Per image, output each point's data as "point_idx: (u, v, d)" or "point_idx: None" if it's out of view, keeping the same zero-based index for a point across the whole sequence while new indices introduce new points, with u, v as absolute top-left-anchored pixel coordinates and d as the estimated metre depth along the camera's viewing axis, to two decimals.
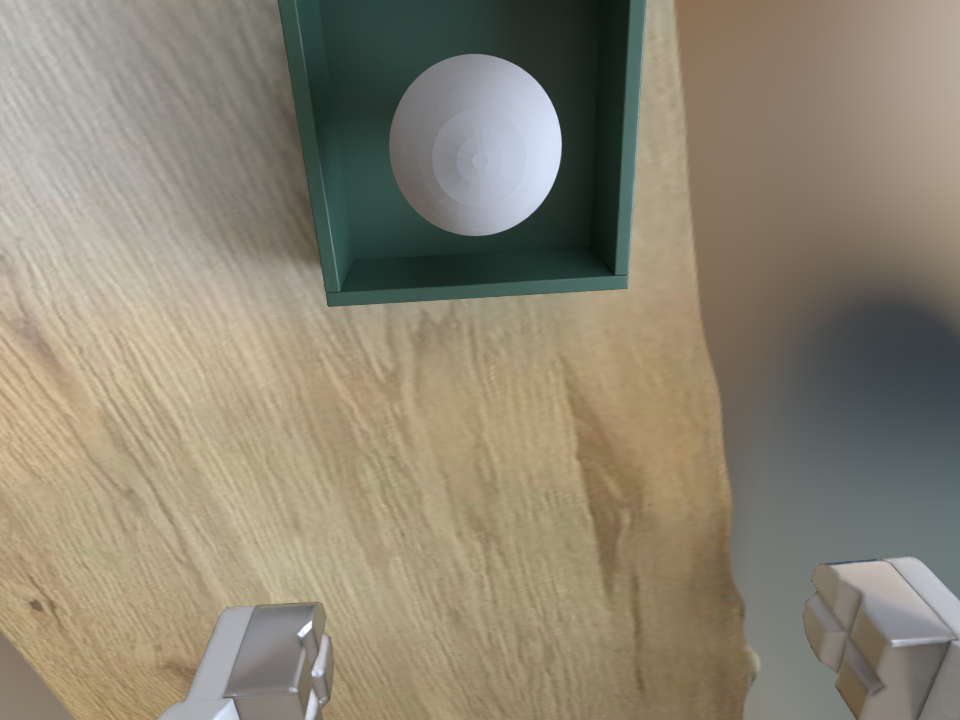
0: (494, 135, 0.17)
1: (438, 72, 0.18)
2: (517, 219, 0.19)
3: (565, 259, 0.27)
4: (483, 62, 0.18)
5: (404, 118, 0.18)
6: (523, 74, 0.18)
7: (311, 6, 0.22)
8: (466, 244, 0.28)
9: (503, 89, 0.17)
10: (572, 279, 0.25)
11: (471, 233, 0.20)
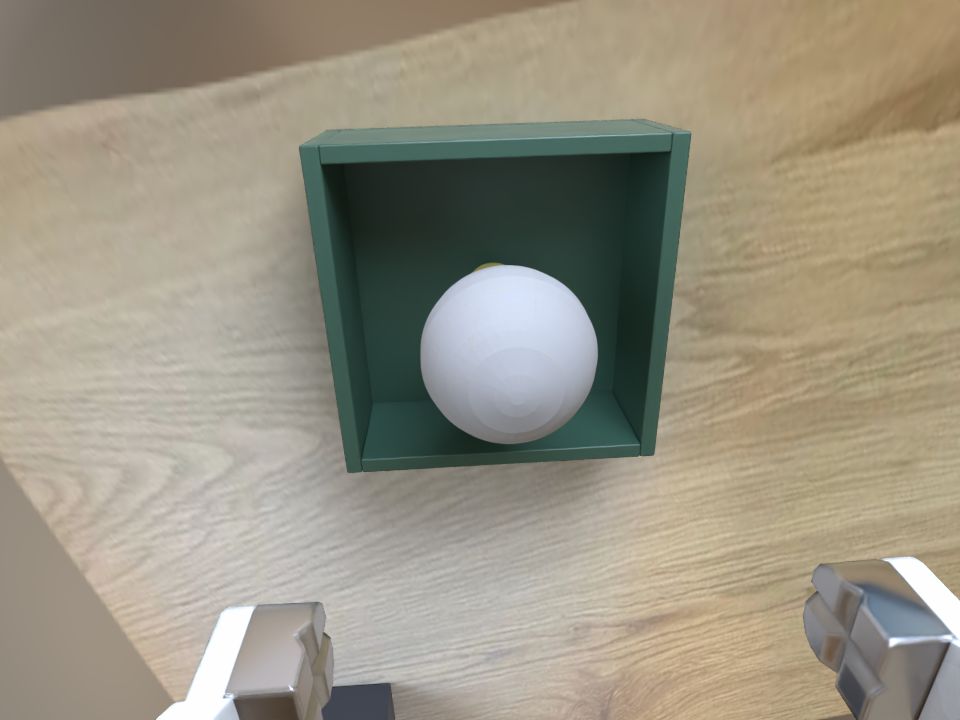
0: (494, 383, 0.16)
1: (436, 404, 0.18)
2: (583, 336, 0.17)
3: (642, 186, 0.22)
4: (427, 366, 0.18)
5: (477, 437, 0.19)
6: (437, 324, 0.18)
7: (389, 423, 0.26)
8: (611, 282, 0.26)
9: (450, 362, 0.17)
10: (666, 205, 0.20)
11: (593, 377, 0.18)
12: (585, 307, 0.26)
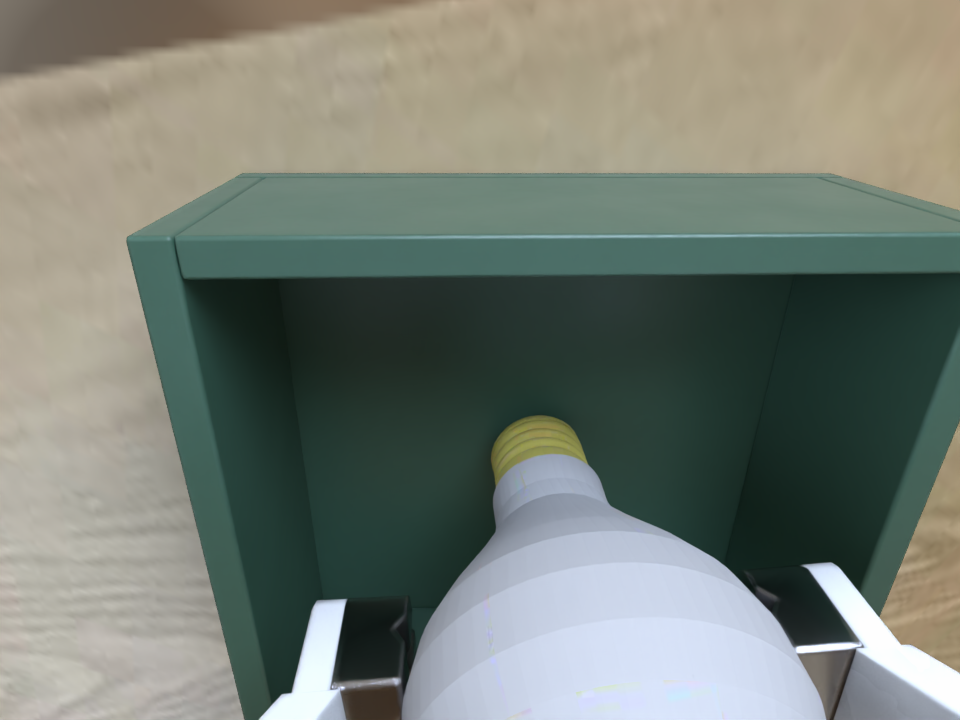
0: None
1: None
2: None
3: (844, 309, 0.12)
4: None
5: None
6: None
7: None
8: (736, 442, 0.15)
9: None
10: (942, 379, 0.09)
11: None
12: (688, 480, 0.16)
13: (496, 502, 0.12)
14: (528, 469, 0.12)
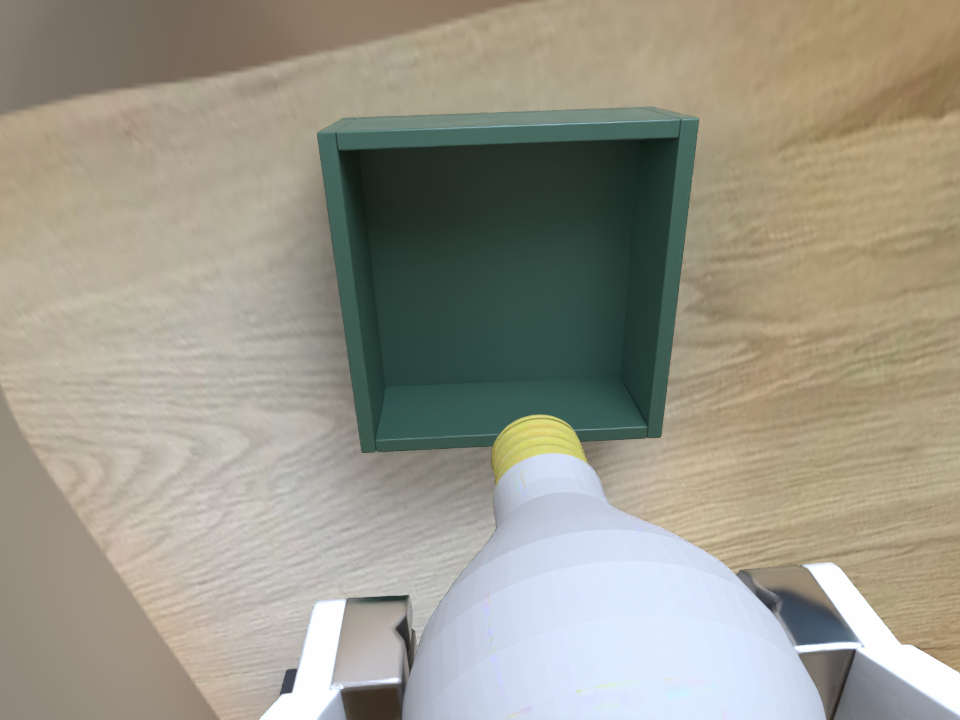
0: None
1: None
2: None
3: (651, 173, 0.23)
4: None
5: None
6: None
7: (402, 405, 0.27)
8: (619, 267, 0.26)
9: None
10: (674, 191, 0.21)
11: None
12: (594, 293, 0.27)
13: (496, 501, 0.12)
14: (528, 468, 0.12)
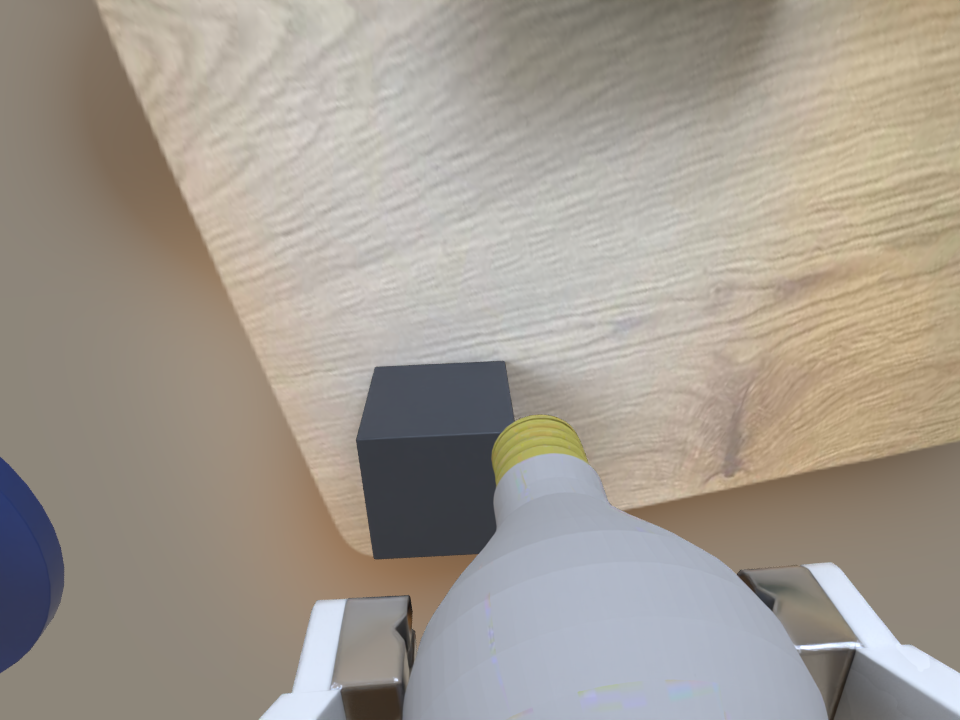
0: None
1: None
2: None
3: None
4: None
5: None
6: None
7: None
8: None
9: None
10: None
11: None
12: None
13: (497, 502, 0.12)
14: (529, 468, 0.12)
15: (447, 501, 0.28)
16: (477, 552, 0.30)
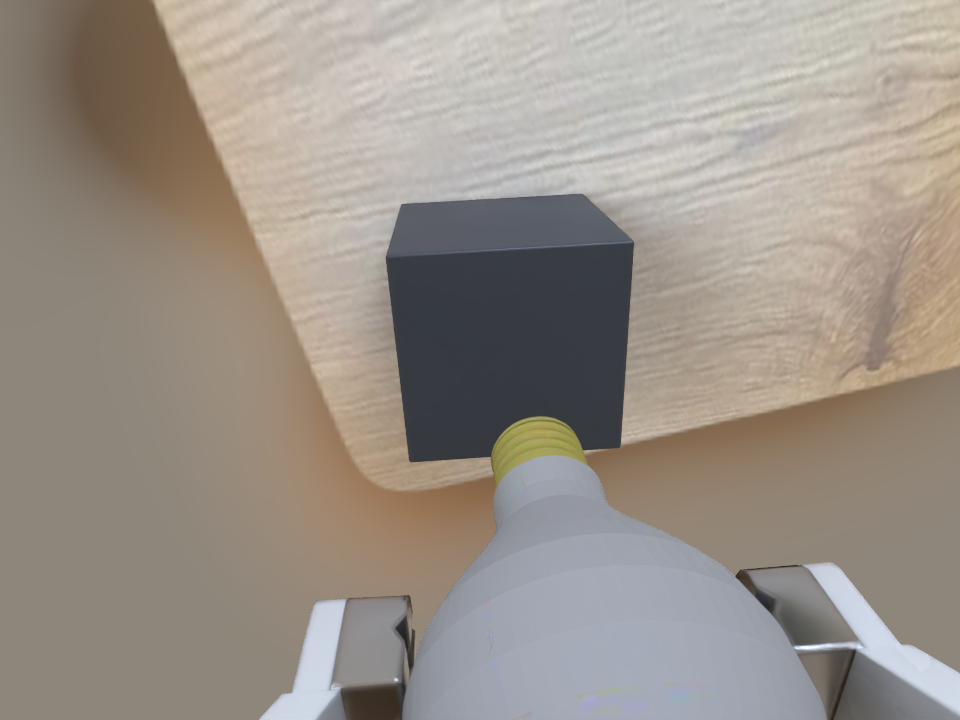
0: None
1: None
2: None
3: None
4: None
5: None
6: None
7: None
8: None
9: None
10: None
11: None
12: None
13: (496, 504, 0.12)
14: (528, 471, 0.12)
15: (522, 364, 0.19)
16: None
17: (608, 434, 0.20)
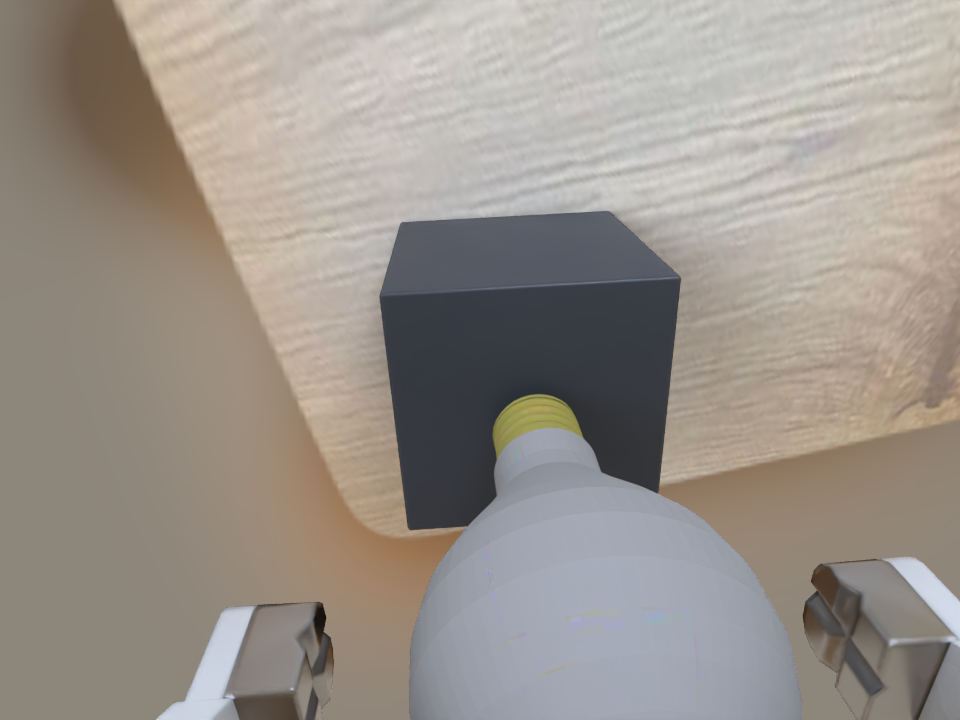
0: None
1: None
2: (794, 708, 0.07)
3: None
4: None
5: None
6: (450, 659, 0.08)
7: None
8: None
9: None
10: None
11: None
12: None
13: (497, 473, 0.13)
14: (527, 441, 0.13)
15: None
16: None
17: None
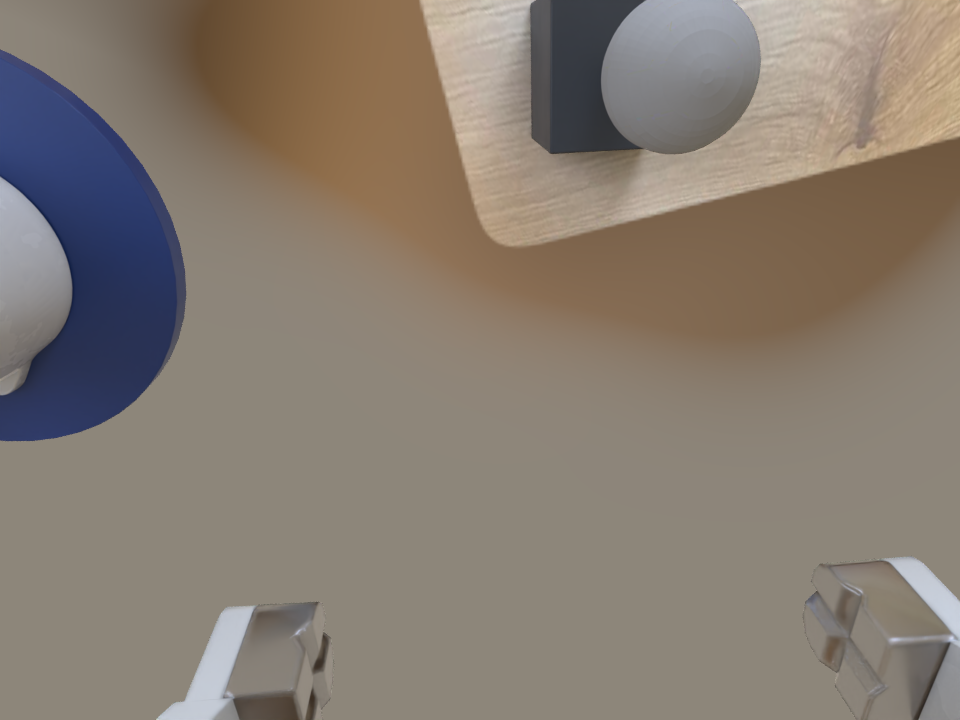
0: (688, 60, 0.20)
1: (621, 106, 0.22)
2: (756, 37, 0.21)
3: None
4: (619, 65, 0.21)
5: (652, 139, 0.22)
6: (631, 26, 0.21)
7: None
8: None
9: (648, 49, 0.20)
10: None
11: (756, 85, 0.21)
12: None
13: None
14: None
15: None
16: None
17: None
